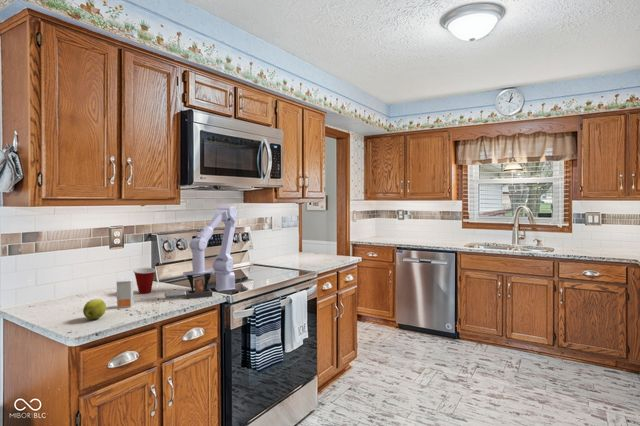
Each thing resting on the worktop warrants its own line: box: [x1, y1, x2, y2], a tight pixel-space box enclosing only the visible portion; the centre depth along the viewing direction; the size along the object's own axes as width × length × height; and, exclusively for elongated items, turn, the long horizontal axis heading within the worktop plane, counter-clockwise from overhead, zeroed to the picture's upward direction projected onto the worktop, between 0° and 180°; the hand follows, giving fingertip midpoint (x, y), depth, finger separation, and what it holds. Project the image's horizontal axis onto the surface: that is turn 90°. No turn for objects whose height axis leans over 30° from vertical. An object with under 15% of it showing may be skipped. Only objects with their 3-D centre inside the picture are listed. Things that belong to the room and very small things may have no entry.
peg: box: [194, 279, 204, 293], centre depth 203 cm, size 4×4×8 cm
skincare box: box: [116, 278, 134, 309], centre depth 185 cm, size 6×4×12 cm
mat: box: [164, 290, 187, 299], centre depth 206 cm, size 9×9×1 cm
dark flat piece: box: [185, 288, 213, 300], centre depth 204 cm, size 12×9×3 cm
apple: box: [82, 298, 107, 320], centre depth 167 cm, size 8×9×8 cm
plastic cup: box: [133, 267, 157, 295], centre depth 211 cm, size 11×11×12 cm
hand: (199, 289), depth 203 cm, fingers open, 6 cm apart
